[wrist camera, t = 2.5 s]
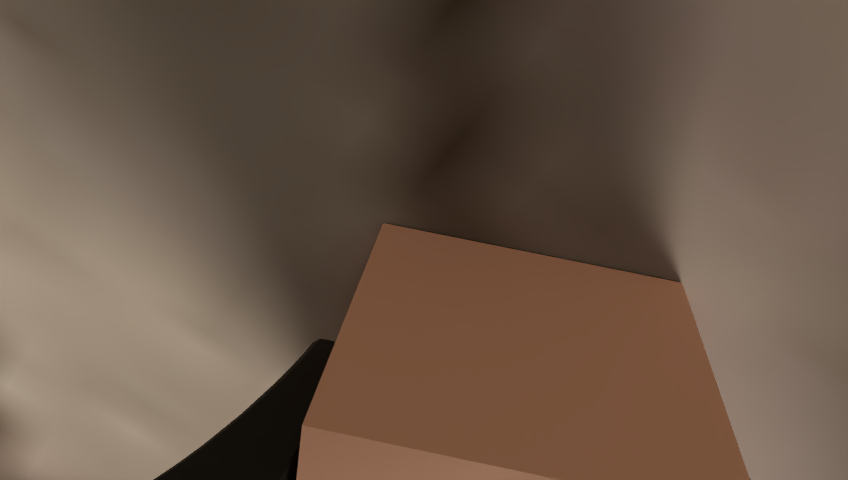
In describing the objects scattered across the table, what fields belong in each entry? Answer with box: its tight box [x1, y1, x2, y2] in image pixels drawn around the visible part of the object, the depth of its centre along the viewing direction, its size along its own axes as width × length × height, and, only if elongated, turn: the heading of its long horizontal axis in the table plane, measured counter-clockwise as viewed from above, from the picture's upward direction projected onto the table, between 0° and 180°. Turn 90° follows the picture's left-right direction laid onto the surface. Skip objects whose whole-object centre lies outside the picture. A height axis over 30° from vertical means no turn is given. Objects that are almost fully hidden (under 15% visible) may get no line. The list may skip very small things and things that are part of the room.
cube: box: [296, 223, 750, 480], centre depth 11 cm, size 5×5×5 cm
